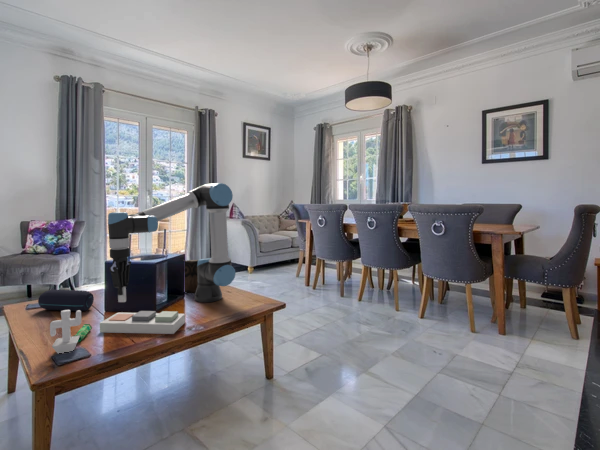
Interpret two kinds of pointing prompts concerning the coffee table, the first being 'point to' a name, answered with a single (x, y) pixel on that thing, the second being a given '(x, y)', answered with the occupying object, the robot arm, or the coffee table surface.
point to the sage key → (166, 316)
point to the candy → (83, 331)
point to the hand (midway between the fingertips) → (122, 301)
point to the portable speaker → (66, 300)
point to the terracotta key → (121, 317)
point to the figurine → (65, 332)
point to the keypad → (141, 325)
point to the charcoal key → (144, 316)
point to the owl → (191, 276)
